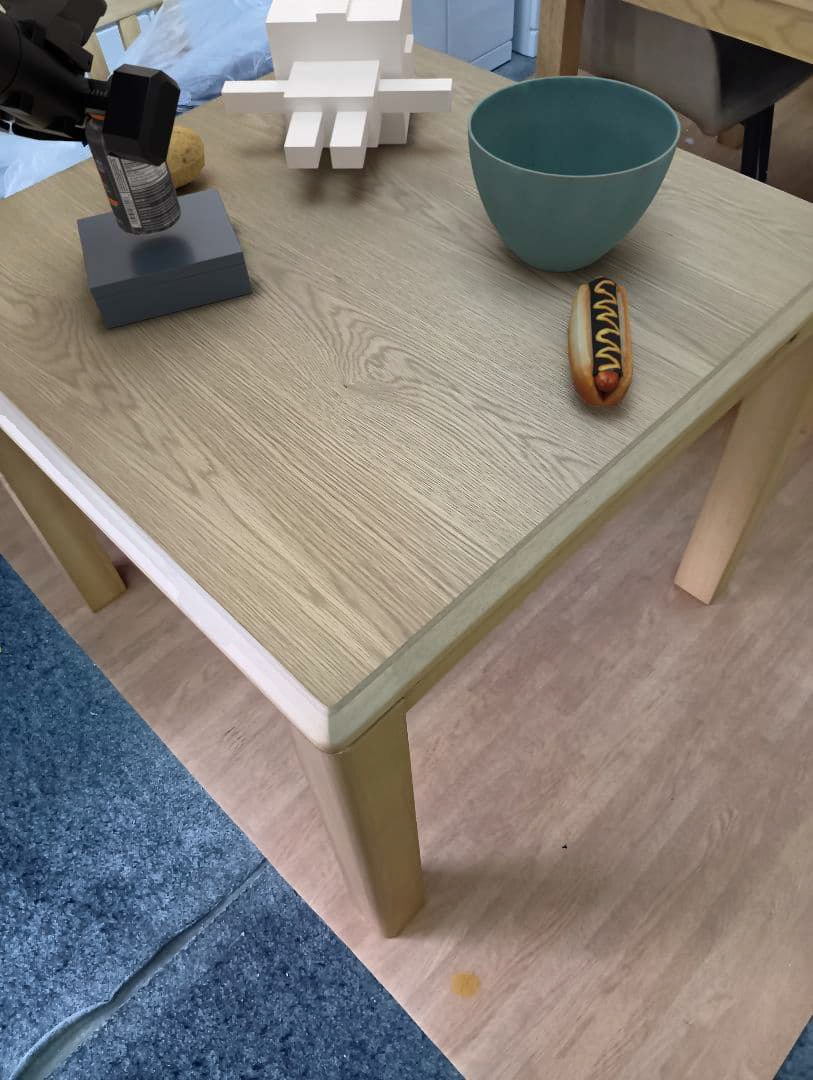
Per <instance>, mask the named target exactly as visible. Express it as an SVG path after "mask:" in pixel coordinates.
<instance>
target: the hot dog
mask: <svg viewBox="0 0 813 1080" xmlns="http://www.w3.org/2000/svg"><path fill="white" fill-rule="evenodd" d="M571 301H572V302H571V308H570V315H569V320H568V326H567V357H568V363H569V367H570V372H571V377H572V382H573V386H574V390H575V392H576V393H577V394H578V395H579V396H580V397H581V399H582V400H583V401H584V402H585V404H586V405H589V406H592V407H597V408H610V407H616V406H618V405H619V404H620V403H621V402H622V401H623V400H624V398H625V397H626V394H627V393H628V391H629V388H630V387H631V384H632V380H633V371H634V370H633V347H632V346H633V345H632V336H631V326H630V316H629V306H628V296H627V292H626V288H625V286H623V285H620V284H618V283H616V282H615V281H614V280H613V279H612V278H609V277H607V276H605V275H601V276H598V277H595V278H594V279H593V280H591V281H589V282H587V283H585V284H581V285H580V286H579V287H578V289H577V290H576V292H575V294H574V296H573V297H572V299H571Z"/></svg>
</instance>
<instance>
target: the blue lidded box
mask: <svg viewBox="0 0 813 1080" xmlns="http://www.w3.org/2000/svg"><path fill="white" fill-rule="evenodd" d="M177 198H178V202H179V205H180V209H181V216H180V218H179V220H178V221H177V222H176V224H175V225H173V226H172V227H171V228H169V229H167V230H165V231H163V232H160V233H157V234H153V235H146V236H140V235H132V234H129V233H127V232H125V231H123V230H122V229H121V228H120V227H119V226H118V224H117V221H116V218H115V216H114V213H113V211H109V212H104V213H101V214H95V215H91V216H87V217H83V218H79V219H76V224H77V229H78V235H79V240H80V245H81V251H82V256H83V262H84V266H85V267H84V268H85V272H86V276H87V281H88V287H89V290H90V291H89V292H90V293H91V295H92V298H93V300H94V302H95V304H96V307H97V310H98V312H99V314H100V316H101V318H102V320H103V323H104V325H105V327H106V329H107V330H109V329H113V328H118V327H120V326H125V325H126V326H127V325H129V324H133V323H138V322H141V321H145V320H149V319H153V318H157V317H161V316H164V315H168V314H169V315H170V314H174V313H177V312H180V311H185V310H190V309H193V308H197V307H201V306H206V305H209V304H213V303H217V302H220V301H224V300H225V301H226V300H229V299H233V298H236V297H240V296H246V295H249V294H252V293H253V288H252V284H251V281H250V276H249V272H248V268H247V264H246V259H245V255H244V252H243V251H244V250H243V249H242V246H241V244H240V241H239V239H238V237H237V234H236V231H235V229H234V226H233V225H232V222H231V220H230V217H229V214H228V212H227V209H226V207H225V205H224V202H223V200H222V196H221V194H220V193H219V189H218V188H217V187H215V188H210V189H206V190H202V191H197V192H193V193H188V194H184V195H180V196H177Z"/></svg>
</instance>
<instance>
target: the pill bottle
mask: <svg viewBox="0 0 813 1080" xmlns="http://www.w3.org/2000/svg"><path fill="white" fill-rule="evenodd" d="M96 95H97V94H96ZM100 96H101V95H100ZM105 97H106V96H105ZM90 116H91V117H92V119H91V120H90V121H89V122H88V124H87V127H86V130H85V135H86V139H87V142H86V143H87V145H88V148H89V150H90V153H91V155H92V159H93V161H94V165H95V167H96V169H97V172H98V175H99V177H100V181H101V183H102V186H103V189H104V192H105V194H106V196H107V197H106V198H107V199H108V202H109V205H110V208H111V210H112V212H113V213H114V216H115V218H116V221H117V224H118V226H119V227H120V228H121V229H122V230H123V231H125V232H127V233H129V234H132V235H140V236H146V235H153V234H157V233H160V232H163V231H165V230H167V229H169V228H171V227H172V226H173V225H175V224H176V222H177V221H178V220H179V218H180V216H181V209H180V205H179V202H178V198H177V197H178V195H177V189H175V187H174V184H173V181H172V177H171V174H170V170H169V167H168V163H167V160H166V161H165V162H164V163H163V164H162V165H160V166H159V167H157V166H153V165H148V164H144V163H139V162H134V161H129V160H124V159H120V158H115V157H111V156H109V152H110V151H108V150H107V147H106V144H105V141H104V138H103V136H102V128H103V123H104V116H99V115H94V114H90Z"/></svg>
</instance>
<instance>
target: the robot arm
mask: <svg viewBox="0 0 813 1080" xmlns="http://www.w3.org/2000/svg"><path fill="white" fill-rule="evenodd" d="M0 6H1V7H2V9H3V10H4V11H5V12H4V11H2V10H1V9H0V133H5V134H10V131H11V132H12V133H13V135H15V136H16V137H21V138H26V139H31V140H35V141H39V142H40V141H42V142H69V143H70V142H71V143H72V142H73V143H88V142H87V139H86V135H85V130H86V127H87V124H88V122H89V121H90V120H91V119H92V117H91V116H90V114H94V115H99V116H104V123H103V128H102V136H103V138H104V141H105V144H106V147H107V150H108V151H110V152H109V156H111V157H115V158H120V159H124V160H129V161H134V162H139V163H144V164H148V165H153V166H157V167H159V166H160V165H162V164H163V163H164V162H165V161H166V159H167V155H168V150H169V145H170V140H171V136H172V131H173V126H175V121H176V116H177V111H178V106H179V101H180V97H181V91H182V90H181V88H180V86H179V84H178V82H177V81H176V80H175V79H174V78H172V77H171V76H170V75H168V74H167V73H166V72H164V71H163V70H162V69H158V68H152V67H148V66H147V67H146V66H142V65H136V64H129V63H122V64H121V65H120V66H118V67H117V68H115V69H114V70H113V71H112V74H111V75H110V76H109V77H108V78H107V80H101V79H96V78H95V79H94V78H90V77H86V73H91V72H92V67H93V61H94V58H95V56H94V54H93V53H92V52H90V51H88V50H87V49H85V48H84V47H85V46H86V45H87V43H88V42H89V40H90V38H91V36H92V34H93V32H94V30H95V29H96V27H97V25H98V22H99V21H100V19H101V18H103V17H105V15H106V13H107V10H108V3H107V1H106V0H0ZM96 94H97V95H96ZM100 95H101V96H100ZM105 96H106V97H105Z"/></svg>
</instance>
